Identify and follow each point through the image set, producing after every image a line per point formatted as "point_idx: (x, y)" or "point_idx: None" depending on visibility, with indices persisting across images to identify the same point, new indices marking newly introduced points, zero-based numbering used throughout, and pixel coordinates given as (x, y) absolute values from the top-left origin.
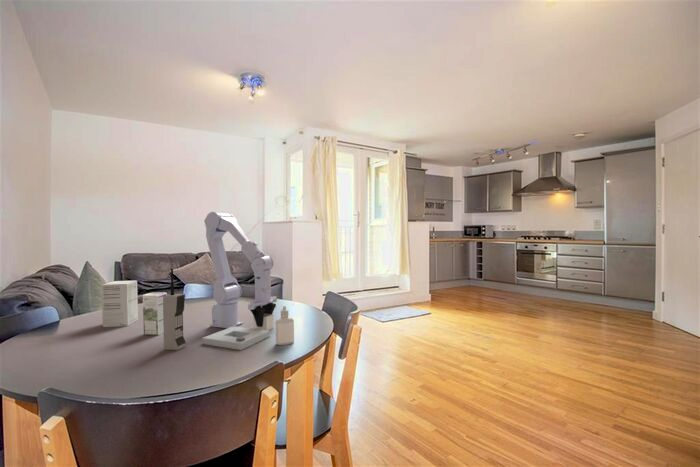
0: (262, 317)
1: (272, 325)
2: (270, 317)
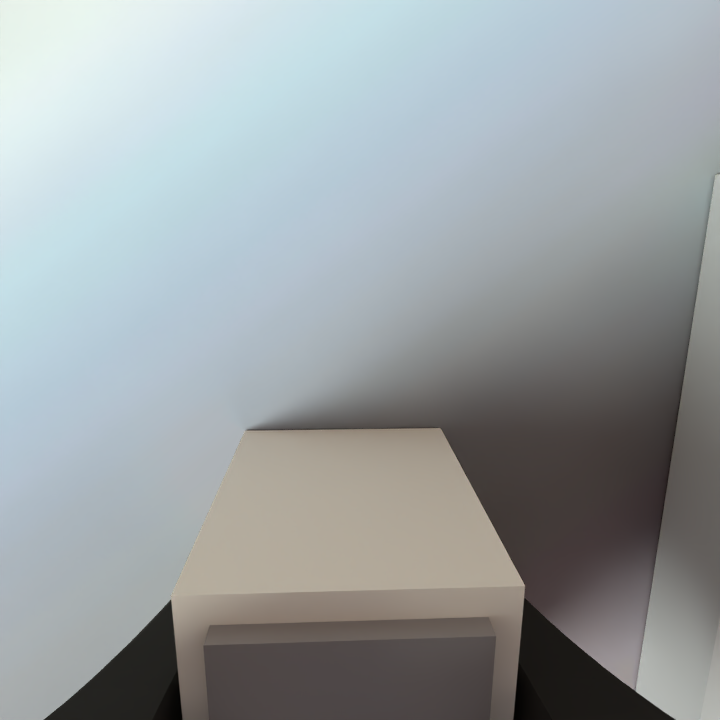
0: (571, 677)
1: (271, 452)
2: (328, 558)
